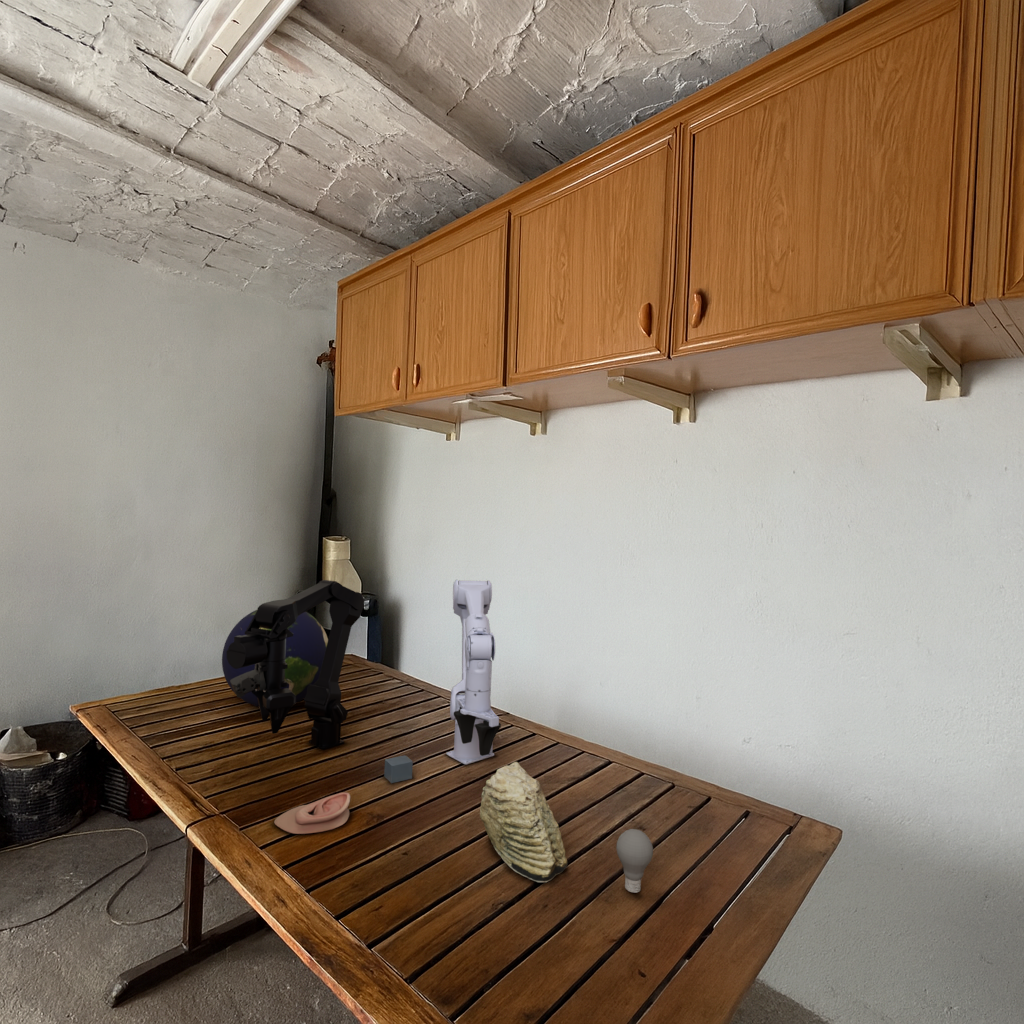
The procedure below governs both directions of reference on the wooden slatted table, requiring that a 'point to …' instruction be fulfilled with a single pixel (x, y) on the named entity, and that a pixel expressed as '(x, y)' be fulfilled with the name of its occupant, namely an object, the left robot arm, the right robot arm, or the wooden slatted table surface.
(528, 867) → the fossil
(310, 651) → the globe
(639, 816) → the wooden slatted table surface
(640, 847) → the light bulb
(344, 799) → the anatomical model
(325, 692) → the left robot arm
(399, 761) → the brick
